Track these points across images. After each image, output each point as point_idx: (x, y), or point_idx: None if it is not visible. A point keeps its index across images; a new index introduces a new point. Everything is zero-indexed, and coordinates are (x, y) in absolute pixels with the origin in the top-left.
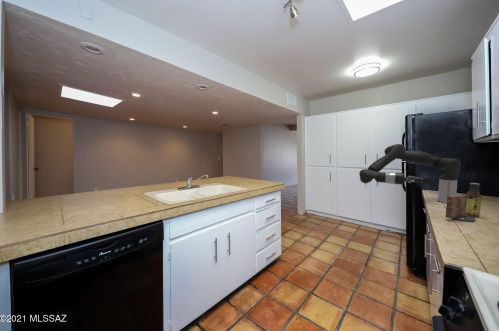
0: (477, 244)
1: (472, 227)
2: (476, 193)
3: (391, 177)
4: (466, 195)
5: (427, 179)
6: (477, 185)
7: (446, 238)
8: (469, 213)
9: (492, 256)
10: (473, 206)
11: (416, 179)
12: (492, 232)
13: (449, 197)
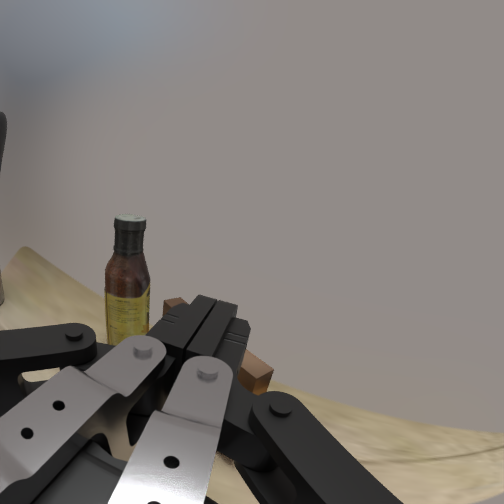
0: (443, 445)
1: None
2: (144, 263)
3: None
4: (182, 299)
5: (226, 330)
6: (145, 225)
7: (461, 490)
8: None
9: (480, 432)
10: (145, 322)
11: (361, 485)
12: (309, 396)
13: (264, 376)
